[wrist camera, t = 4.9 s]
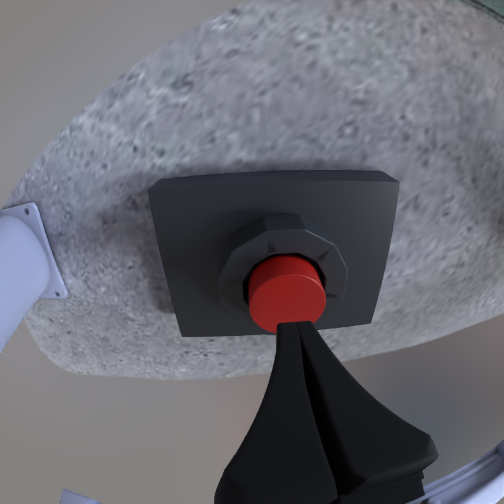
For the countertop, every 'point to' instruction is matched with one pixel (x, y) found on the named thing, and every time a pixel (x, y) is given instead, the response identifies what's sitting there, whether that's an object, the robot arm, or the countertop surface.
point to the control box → (272, 241)
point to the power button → (285, 292)
